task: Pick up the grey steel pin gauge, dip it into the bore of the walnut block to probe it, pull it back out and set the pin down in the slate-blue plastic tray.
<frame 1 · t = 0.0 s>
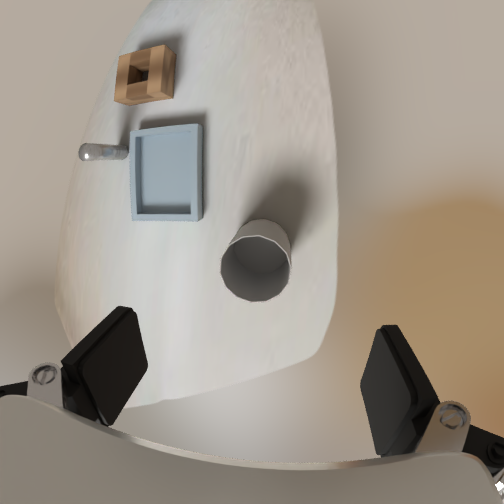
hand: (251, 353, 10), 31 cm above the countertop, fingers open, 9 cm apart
bore block: (151, 79, 35), on the countertop
cup: (261, 246, 41), on the countertop
pin: (122, 152, 39), on the countertop
tray: (168, 173, 39), on the countertop
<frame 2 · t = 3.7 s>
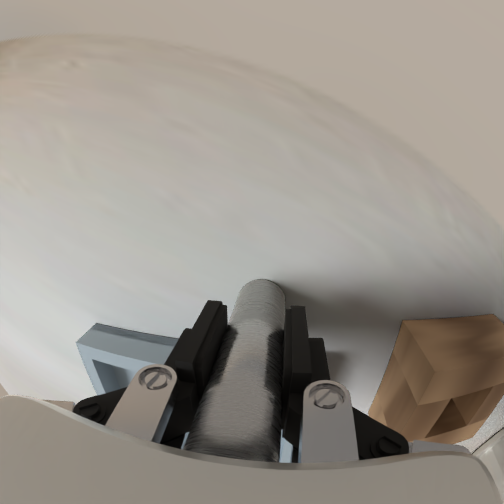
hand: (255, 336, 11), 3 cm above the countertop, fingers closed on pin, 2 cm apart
bore block: (434, 367, 14), on the countertop
pin: (261, 301, 14), on the countertop, touching gripper
tray: (199, 401, 17), on the countertop
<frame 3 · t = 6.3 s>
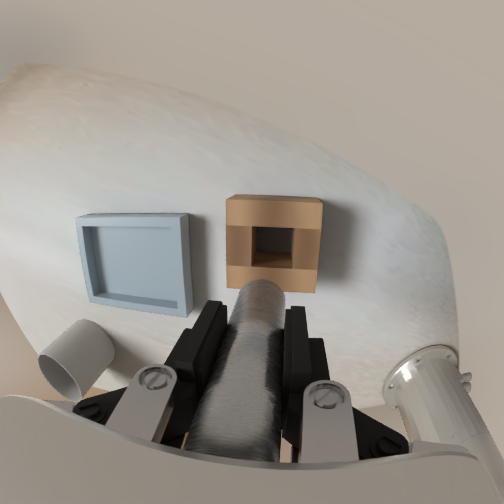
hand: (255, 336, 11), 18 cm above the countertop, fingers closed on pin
bore block: (274, 235, 28), on the countertop
cup: (94, 341, 36), on the countertop
pin: (261, 300, 14), point 15 cm above the countertop, touching gripper
tray: (136, 259, 30), on the countertop
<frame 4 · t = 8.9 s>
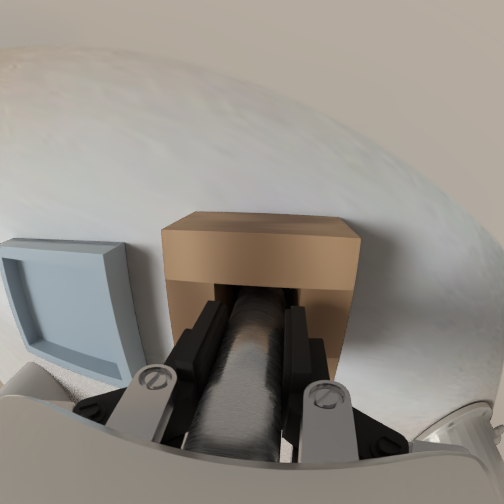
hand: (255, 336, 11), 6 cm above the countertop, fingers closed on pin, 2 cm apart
bore block: (263, 281, 16), on the countertop
cup: (49, 386, 24), on the countertop
pin: (261, 300, 14), point 2 cm above the countertop, touching gripper
tray: (68, 303, 19), on the countertop
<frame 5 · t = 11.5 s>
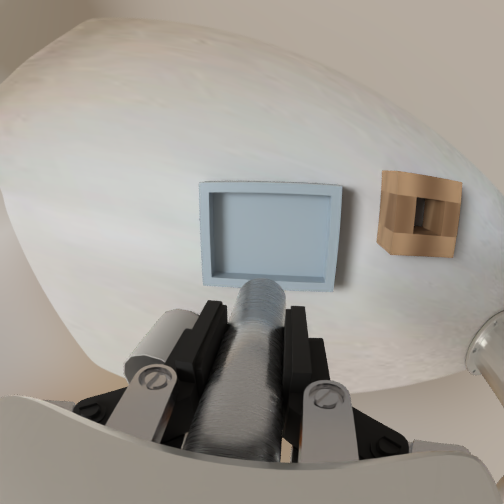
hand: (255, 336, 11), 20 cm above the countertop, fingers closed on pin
bore block: (411, 209, 27), on the countertop
cup: (185, 335, 35), on the countertop
pin: (261, 299, 14), point 16 cm above the countertop, touching gripper
tray: (270, 232, 29), on the countertop
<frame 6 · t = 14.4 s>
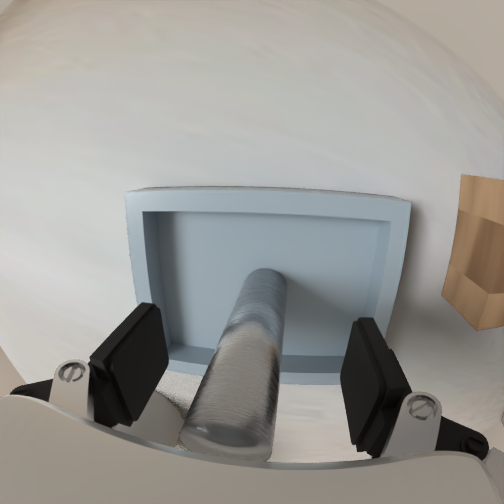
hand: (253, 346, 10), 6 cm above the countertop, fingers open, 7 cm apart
bore block: (492, 241, 13), on the countertop
cup: (143, 408, 22), on the countertop
pin: (265, 288, 15), point 1 cm above the countertop, touching tray
tray: (264, 283, 16), on the countertop
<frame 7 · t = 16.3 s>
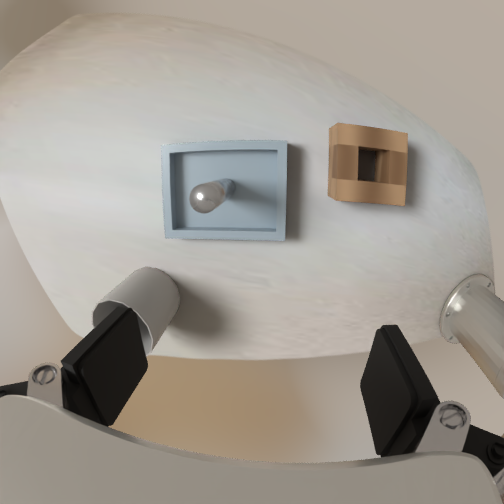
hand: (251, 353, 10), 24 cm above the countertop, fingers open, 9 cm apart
bore block: (361, 164, 29), on the countertop
cup: (153, 293, 37), on the countertop
pin: (225, 188, 31), point 1 cm above the countertop, touching tray
tray: (225, 188, 32), on the countertop
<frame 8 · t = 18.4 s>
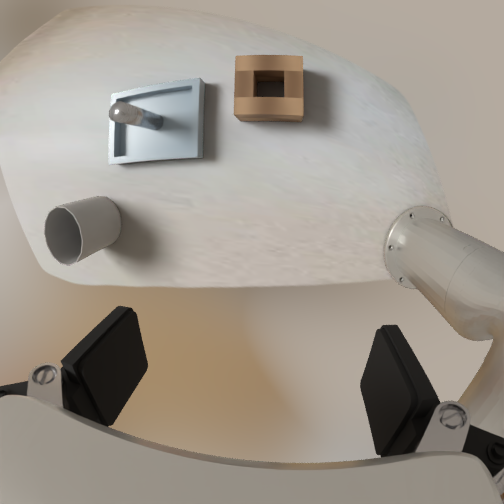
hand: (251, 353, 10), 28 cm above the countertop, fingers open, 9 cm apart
bore block: (270, 93, 32), on the countertop
cup: (102, 220, 40), on the countertop
pin: (155, 122, 33), point 1 cm above the countertop, touching tray
tray: (157, 123, 34), on the countertop
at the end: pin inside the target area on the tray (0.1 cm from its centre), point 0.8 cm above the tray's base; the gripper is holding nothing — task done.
